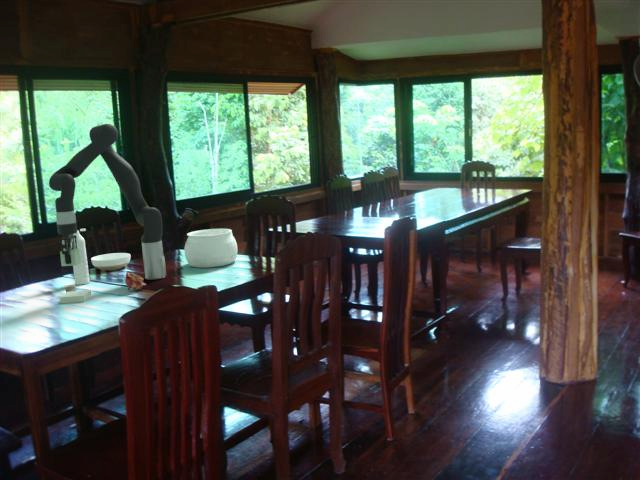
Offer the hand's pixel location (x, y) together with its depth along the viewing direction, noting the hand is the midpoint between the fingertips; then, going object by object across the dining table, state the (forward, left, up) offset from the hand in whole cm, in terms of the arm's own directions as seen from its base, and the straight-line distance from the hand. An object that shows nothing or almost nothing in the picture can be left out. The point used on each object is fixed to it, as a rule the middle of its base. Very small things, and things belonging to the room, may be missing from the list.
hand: (71, 262), depth 284 cm
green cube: (0, 0, -1) cm, 1 cm away
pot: (-51, -58, -16) cm, 79 cm away
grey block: (+5, -10, -16) cm, 20 cm away
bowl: (+1, -65, -16) cm, 67 cm away
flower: (-23, -10, -16) cm, 30 cm away
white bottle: (+6, -33, -16) cm, 37 cm away
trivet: (0, 0, -16) cm, 16 cm away
